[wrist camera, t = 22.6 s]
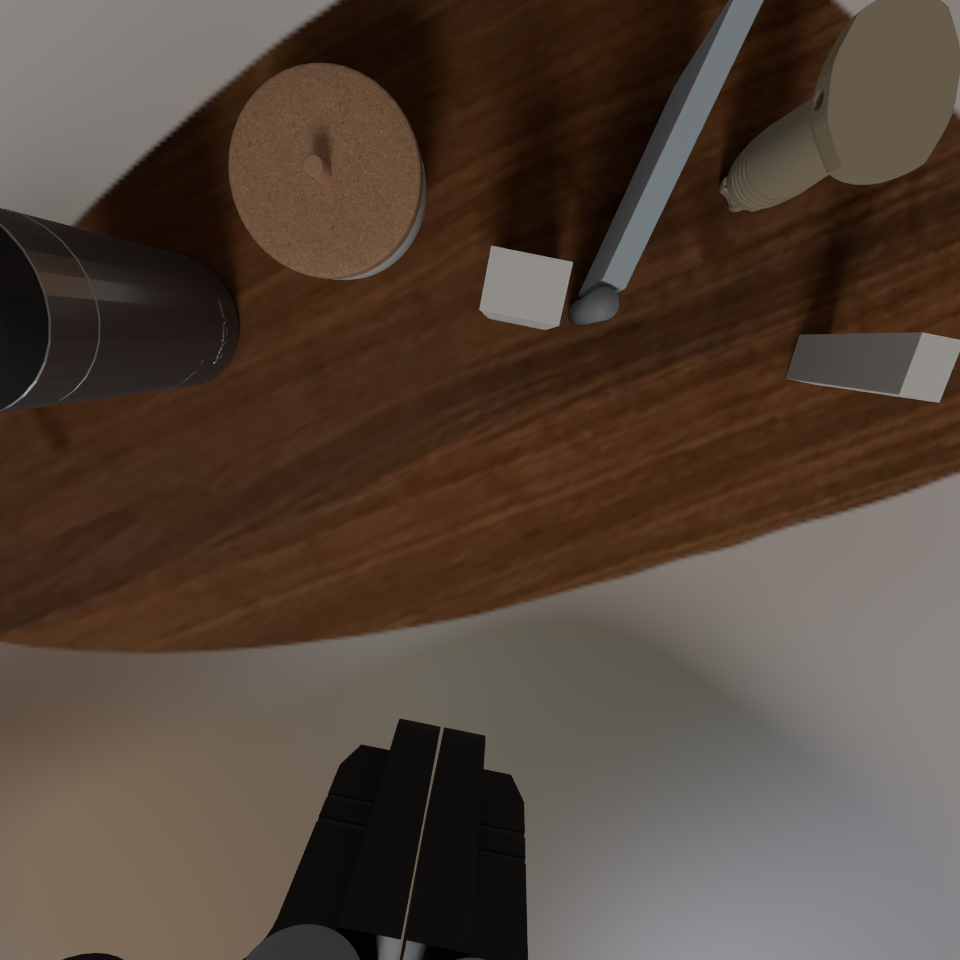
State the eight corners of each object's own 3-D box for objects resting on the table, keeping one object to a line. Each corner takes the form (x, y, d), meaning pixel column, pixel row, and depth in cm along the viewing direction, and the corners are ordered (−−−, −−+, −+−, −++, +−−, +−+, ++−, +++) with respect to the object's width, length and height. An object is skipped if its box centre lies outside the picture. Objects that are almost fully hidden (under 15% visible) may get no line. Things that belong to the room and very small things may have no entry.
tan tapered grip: (786, 130, 36) (972, -12, 21) (776, 239, 37) (944, 176, 23) (708, 134, 36) (839, -4, 22) (701, 242, 38) (819, 181, 23)
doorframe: (489, 318, 40) (479, 309, 28) (497, 273, 39) (491, 245, 27) (813, 384, 40) (939, 402, 28) (828, 340, 39) (963, 340, 27)
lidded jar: (402, 89, 37) (366, 6, 28) (462, 254, 39) (446, 228, 30) (256, 156, 38) (175, 98, 29) (321, 312, 40) (265, 304, 31)
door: (584, 329, 39) (612, 325, 28) (563, 319, 39) (582, 311, 28) (694, 95, 35) (773, -10, 25) (671, 84, 35) (740, -27, 25)
